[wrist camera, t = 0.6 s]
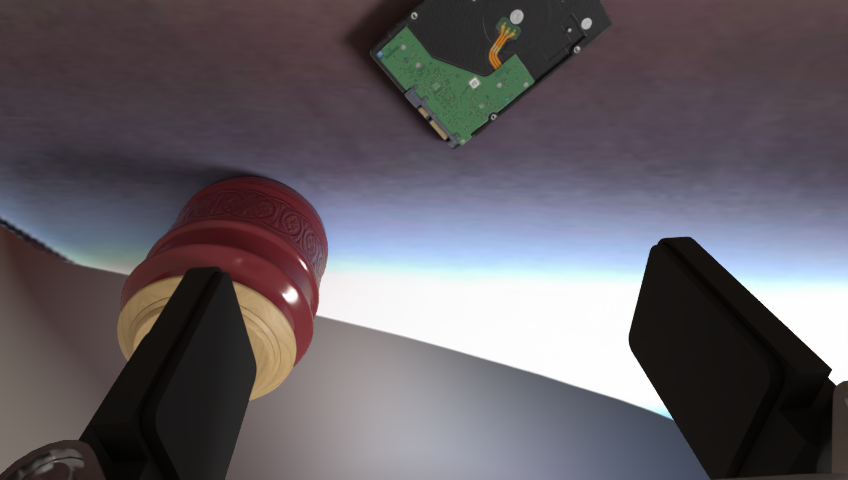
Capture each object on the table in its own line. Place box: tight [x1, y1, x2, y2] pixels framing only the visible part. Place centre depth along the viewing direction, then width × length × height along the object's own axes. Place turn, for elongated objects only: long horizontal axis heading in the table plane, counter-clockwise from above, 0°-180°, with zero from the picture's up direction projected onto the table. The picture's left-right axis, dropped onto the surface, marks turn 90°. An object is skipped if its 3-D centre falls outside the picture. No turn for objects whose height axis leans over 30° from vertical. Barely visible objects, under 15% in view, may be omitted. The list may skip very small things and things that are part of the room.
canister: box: [117, 176, 328, 400], centre depth 36 cm, size 13×13×18 cm
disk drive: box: [370, 0, 612, 149], centre depth 36 cm, size 10×3×15 cm
